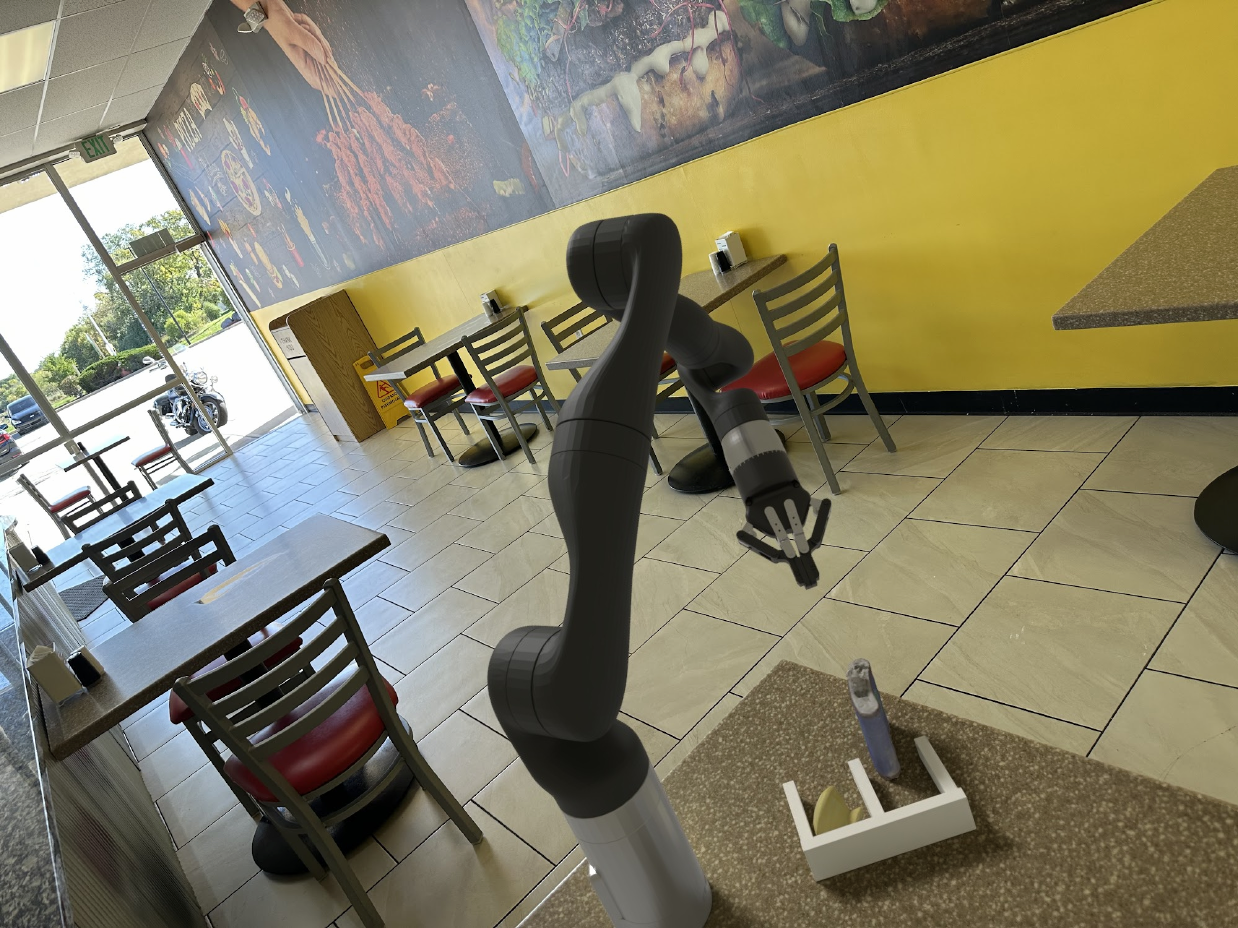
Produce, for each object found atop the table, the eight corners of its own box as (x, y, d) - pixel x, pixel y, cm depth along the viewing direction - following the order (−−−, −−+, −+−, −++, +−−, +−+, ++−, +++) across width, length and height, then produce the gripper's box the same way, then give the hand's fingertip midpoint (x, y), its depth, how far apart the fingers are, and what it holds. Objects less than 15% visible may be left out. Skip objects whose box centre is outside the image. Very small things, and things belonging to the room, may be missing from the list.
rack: (815, 881, 74) (803, 851, 73) (789, 801, 84) (778, 773, 83) (976, 828, 73) (966, 796, 72) (930, 753, 83) (921, 723, 81)
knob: (813, 849, 78) (798, 812, 76) (830, 808, 81) (816, 771, 80) (859, 859, 75) (845, 821, 73) (875, 816, 78) (861, 778, 77)
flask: (904, 778, 81) (876, 697, 78) (875, 783, 82) (846, 703, 78) (888, 717, 89) (862, 641, 86) (862, 722, 90) (836, 647, 87)
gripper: (706, 471, 99) (757, 598, 92) (806, 432, 98) (866, 558, 91) (714, 492, 106) (762, 612, 99) (807, 456, 105) (863, 575, 97)
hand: (811, 586), depth 95 cm, fingers closed
